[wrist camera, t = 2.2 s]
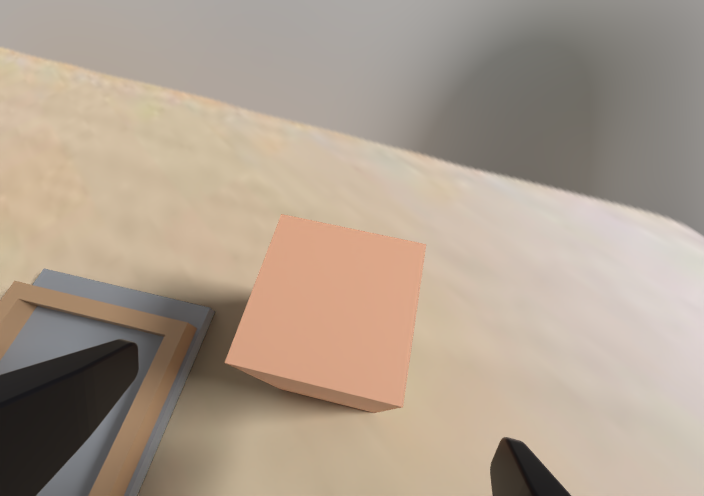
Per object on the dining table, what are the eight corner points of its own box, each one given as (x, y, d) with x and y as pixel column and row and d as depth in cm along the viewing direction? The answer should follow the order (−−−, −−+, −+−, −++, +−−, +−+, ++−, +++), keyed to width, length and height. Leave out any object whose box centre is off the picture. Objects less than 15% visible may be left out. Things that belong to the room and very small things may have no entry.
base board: (95, 593, 14) (59, 619, 12) (-118, 525, 14) (-182, 540, 13) (215, 311, 19) (201, 300, 17) (54, 274, 20) (26, 259, 18)
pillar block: (374, 412, 17) (402, 407, 9) (279, 388, 17) (224, 362, 9) (391, 317, 19) (426, 244, 11) (306, 298, 20) (281, 214, 12)
